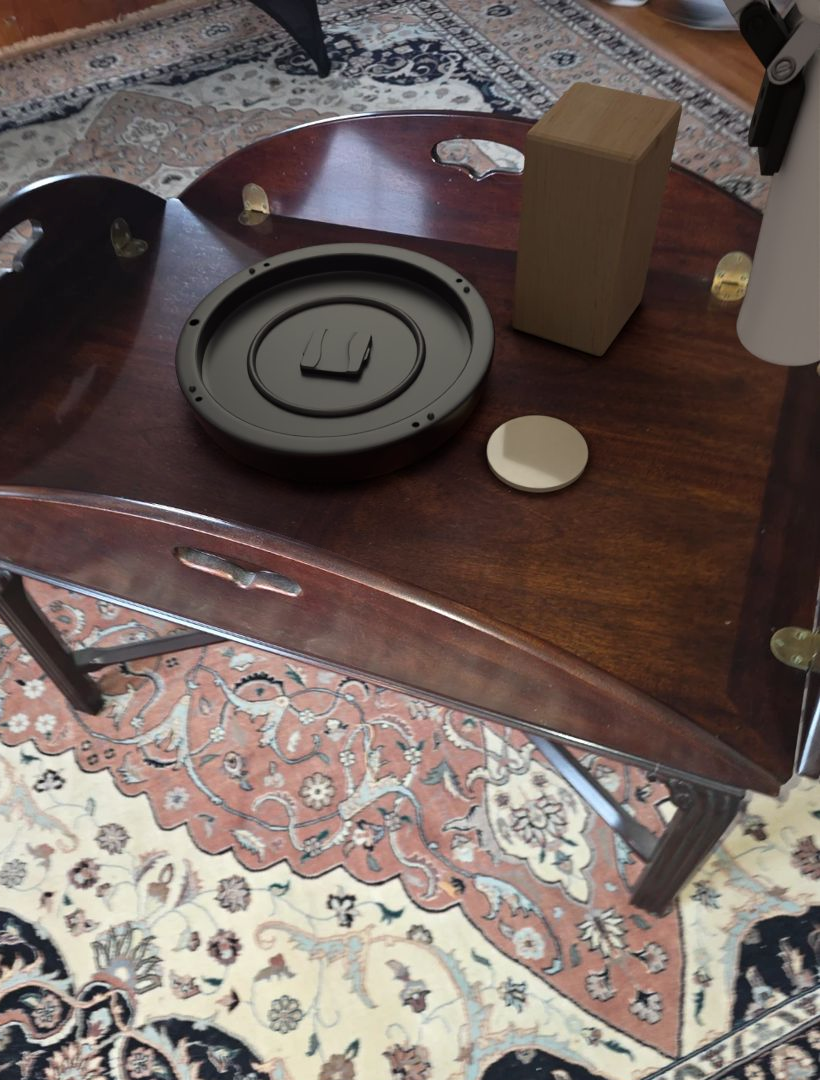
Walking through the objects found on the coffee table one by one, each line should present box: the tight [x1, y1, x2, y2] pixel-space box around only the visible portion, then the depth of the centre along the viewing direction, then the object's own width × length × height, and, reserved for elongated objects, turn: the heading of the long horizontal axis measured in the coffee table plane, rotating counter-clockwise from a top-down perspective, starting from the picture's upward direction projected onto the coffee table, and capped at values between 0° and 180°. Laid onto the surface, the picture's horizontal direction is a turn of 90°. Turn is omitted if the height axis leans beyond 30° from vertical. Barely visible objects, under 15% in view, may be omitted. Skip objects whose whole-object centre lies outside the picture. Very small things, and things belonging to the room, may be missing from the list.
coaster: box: [485, 415, 589, 493], centre depth 79 cm, size 9×9×1 cm
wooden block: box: [511, 81, 683, 357], centre depth 81 cm, size 10×10×20 cm
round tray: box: [174, 242, 496, 484], centre depth 84 cm, size 30×6×30 cm
